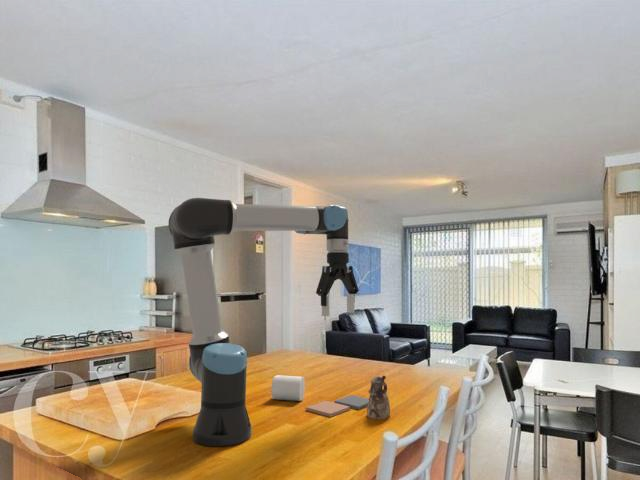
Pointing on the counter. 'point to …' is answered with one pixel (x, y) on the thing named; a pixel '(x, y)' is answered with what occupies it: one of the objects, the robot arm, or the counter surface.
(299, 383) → the white rounded block
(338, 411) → the terracotta tile
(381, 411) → the figurine
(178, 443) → the counter surface
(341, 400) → the slate tile
